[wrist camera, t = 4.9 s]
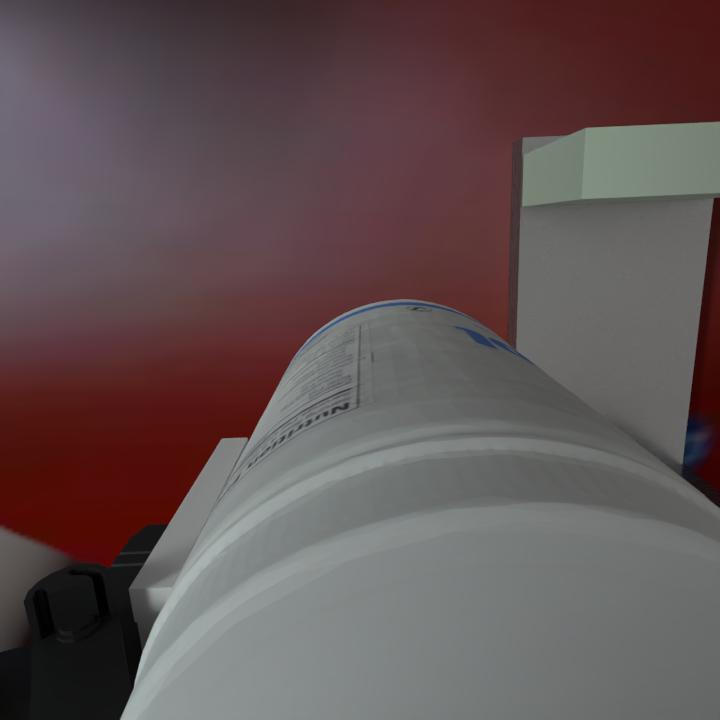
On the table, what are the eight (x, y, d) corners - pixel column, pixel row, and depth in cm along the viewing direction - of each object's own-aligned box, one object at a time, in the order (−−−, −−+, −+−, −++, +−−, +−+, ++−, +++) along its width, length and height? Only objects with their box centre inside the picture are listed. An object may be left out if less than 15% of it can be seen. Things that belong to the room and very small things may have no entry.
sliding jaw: (523, 154, 31) (585, 127, 23) (723, 145, 31) (858, 115, 23) (521, 206, 32) (581, 199, 24) (717, 197, 32) (846, 187, 24)
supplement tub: (573, 393, 20) (1127, 813, 6) (420, 568, 22) (551, 1215, 8) (371, 238, 18) (437, 287, 4) (224, 441, 20) (-79, 955, 6)
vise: (512, 142, 33) (587, 103, 23) (700, 134, 33) (862, 90, 23) (503, 508, 40) (557, 611, 29) (660, 501, 40) (772, 601, 29)
